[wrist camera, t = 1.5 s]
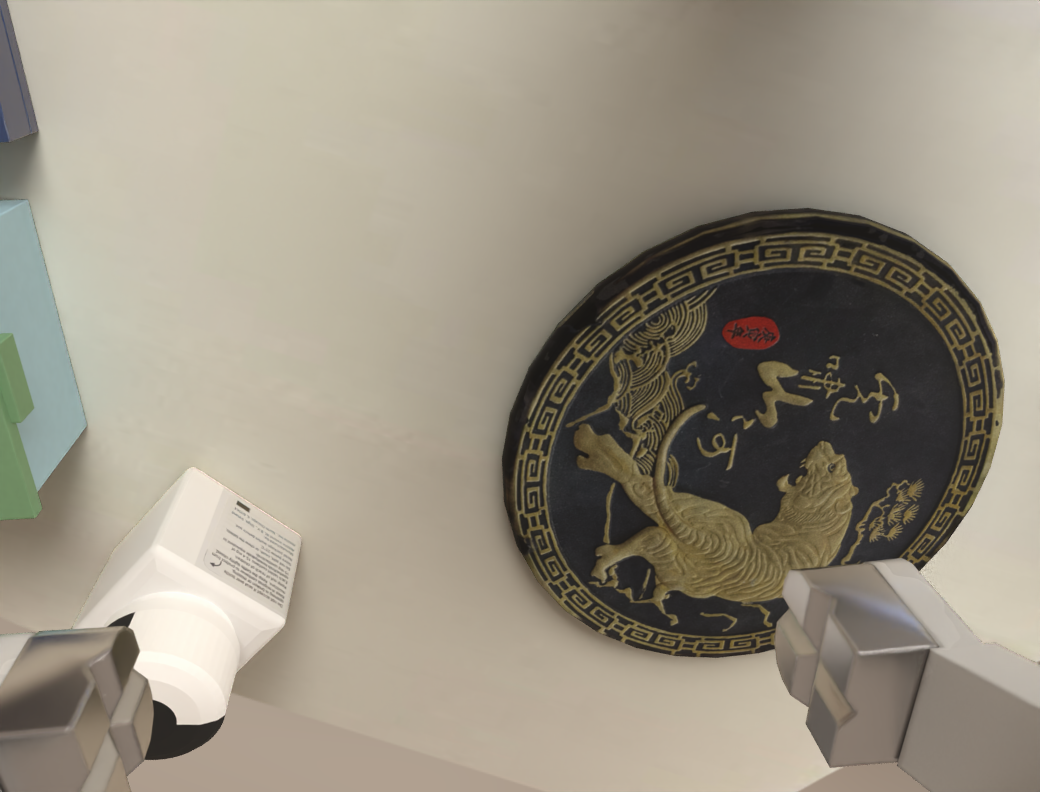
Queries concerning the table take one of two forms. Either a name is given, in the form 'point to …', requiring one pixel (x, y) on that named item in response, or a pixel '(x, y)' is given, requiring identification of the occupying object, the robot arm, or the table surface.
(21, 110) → the low blue storage tray
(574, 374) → the decorative plate
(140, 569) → the container
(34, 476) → the box
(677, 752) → the table surface
